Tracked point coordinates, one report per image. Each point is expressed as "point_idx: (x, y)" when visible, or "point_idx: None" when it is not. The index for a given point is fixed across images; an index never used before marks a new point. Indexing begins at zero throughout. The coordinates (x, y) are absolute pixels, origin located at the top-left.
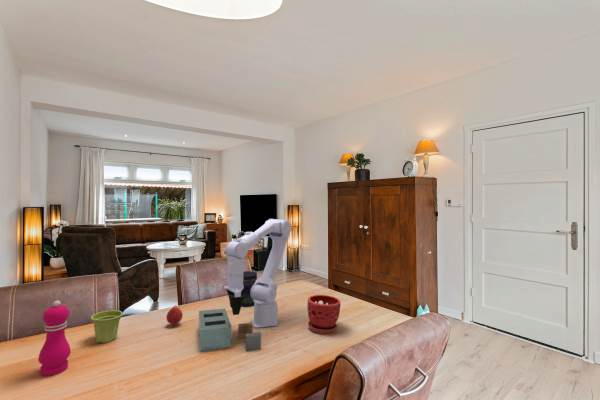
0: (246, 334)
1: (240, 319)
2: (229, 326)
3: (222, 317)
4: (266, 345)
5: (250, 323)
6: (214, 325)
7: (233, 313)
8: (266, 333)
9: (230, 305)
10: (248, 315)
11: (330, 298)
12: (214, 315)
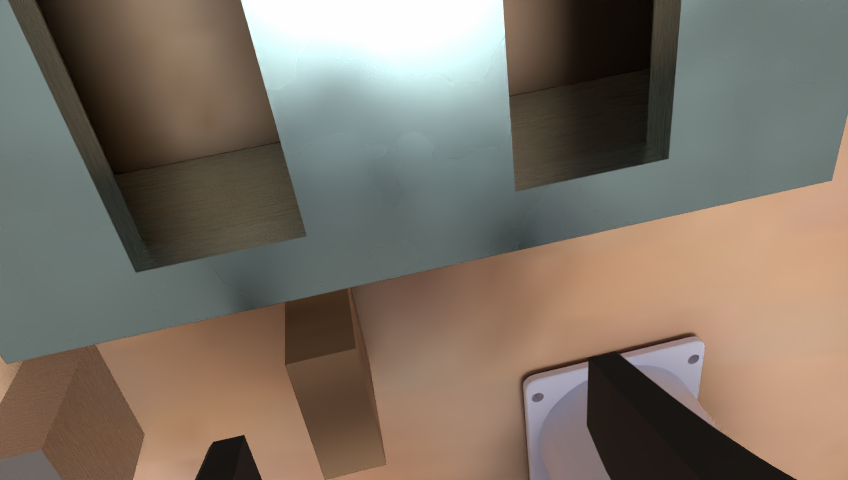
0: (20, 461)
1: (779, 238)
2: (20, 336)
3: (433, 186)
4: (166, 475)
5: (361, 455)
6: (24, 90)
7: (205, 468)
8: (403, 456)
9: (608, 382)
10: (839, 298)
11: None
12: (658, 11)
